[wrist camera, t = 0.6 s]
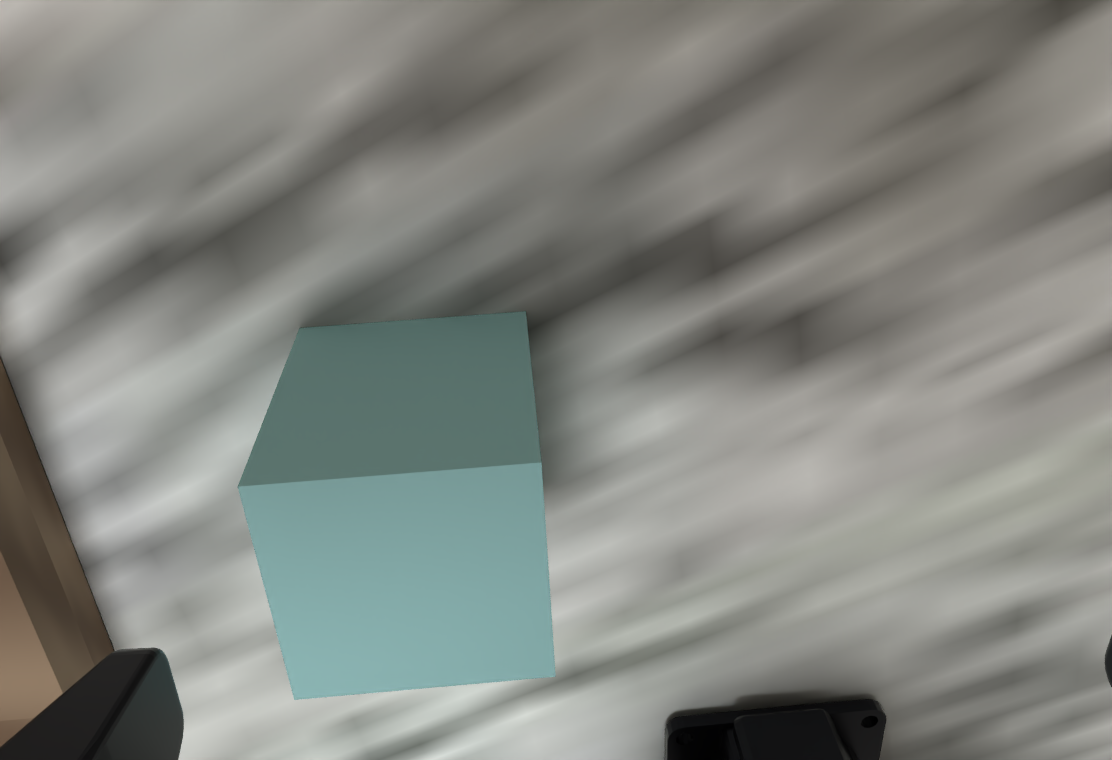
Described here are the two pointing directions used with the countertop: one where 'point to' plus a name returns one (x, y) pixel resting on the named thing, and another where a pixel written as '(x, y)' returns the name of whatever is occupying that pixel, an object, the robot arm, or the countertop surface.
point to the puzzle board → (37, 584)
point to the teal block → (404, 507)
